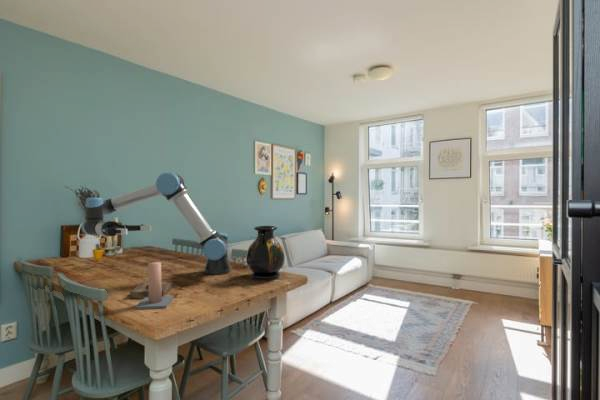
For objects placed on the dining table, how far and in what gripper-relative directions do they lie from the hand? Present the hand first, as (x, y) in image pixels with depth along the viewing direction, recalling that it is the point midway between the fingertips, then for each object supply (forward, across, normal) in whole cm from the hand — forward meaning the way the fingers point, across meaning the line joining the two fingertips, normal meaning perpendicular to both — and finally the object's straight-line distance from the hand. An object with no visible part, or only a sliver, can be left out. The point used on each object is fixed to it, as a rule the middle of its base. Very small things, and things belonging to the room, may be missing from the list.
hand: (139, 230), depth 153 cm
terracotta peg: (+22, +12, -28) cm, 38 cm away
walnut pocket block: (+10, +2, -29) cm, 30 cm away
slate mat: (+23, +12, -29) cm, 39 cm away
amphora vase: (+45, -44, -29) cm, 69 cm away
